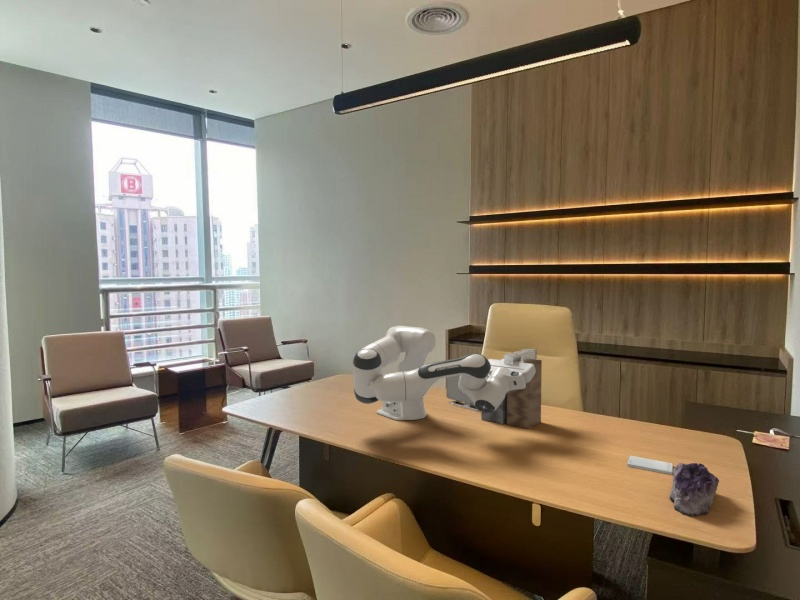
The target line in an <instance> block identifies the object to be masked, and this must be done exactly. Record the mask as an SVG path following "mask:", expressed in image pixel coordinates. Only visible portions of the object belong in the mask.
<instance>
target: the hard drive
mask: <svg viewBox="0 0 800 600" xmlns="http://www.w3.org/2000/svg"><path fill="white" fill-rule="evenodd" d="M626 467H627V468H628V467H629V468H631V469H632V468H633V469H637V470H643V471H648V472H655V473H659V474H664V475H671V476H673V473H672V471H673V469H674V463H671V462H667V461H661V460H656V459H651V458H645V457H639V456H634V455H629V458H628V461H627V464H626Z"/></svg>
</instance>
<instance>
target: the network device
mask: <svg viewBox="0 0 800 600" xmlns="http://www.w3.org/2000/svg"><path fill="white" fill-rule="evenodd" d="M459 378H460V375H457V376H451V377H446V387H445V388H446V389H445V391H446V398H447V399H448V400H449V399H450V400H452V401H451V402H450V405H451V404H453V405H452V406H455V405H456V406H455V407H458V406H460V407H459V408H462V407H464V408H463V409H466V408H467V409H466V410H470V409H471V411H473V412H474V411H475V412H480V411H479V410H478V409H477V408H474V407H475V405H474V403H473V401H472V400H471V399H470V398H469V397H467V396H465V395H463V394H462V393H461V392H460V390H459V388H458V382H459ZM487 378H488V377H487ZM459 401H460V402H459ZM456 402H458V403H464V404H458V403H456Z"/></svg>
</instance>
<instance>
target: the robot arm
mask: <svg viewBox="0 0 800 600" xmlns="http://www.w3.org/2000/svg"><path fill="white" fill-rule="evenodd" d="M436 341H437V339H436V334H434V332H433V331H431V330H429V329H426V328H425V327H419V326H418V327H417V326H408V325H396V326H391V327H390V328H389V329H387V331H386V334H385V335H384V337H382V338H380V339H378V340H376V341H373V342H372V343H368V344H367V345H365V346H364V347H363V348H360V349H359V350H358V351H357V352H356V353H355V354H354V355H353V356H352V360H351V361H352V366H353V367H352V379H353V388H354V389H353V393H354V396H355V400H357V401H358V402H360V403H363V404H366V405H369V404H370V405H371V404H374V403H377V402H378V401H380V402H382V406H381V408H379V409H377V410H376V414H378V415H380V416H383V417H386V418H388V419H389V418H390V419H392V420H395V421H415V420H422V419H424V418H426V417H427V416H428V415H427V412H426V408H425V400H424V397H425V396H426V395H427V394H428V392H429V391H430V390H431V388H433V387H432V386H433V385H434V384H435V383H437V382H438V381H439V380H442V379H445V378H446V379H447V377H451V376H457V375H460V378H459V382H458V388H459V390H460V392H461V393H462V394H463V395H465V396H467V397H469V398H470V399H471V400H472V401H473V403H474V405H475V406H474V407H475V409H478V410H479V411H478V412H480V413H481V412H483V413H491V412H493V411H495V410H496V409H497V408H498V407H499V406H500V404H501V403H502V401H503V400H504V398H505V395H506V393H508V392H509V391H511V390H517V389H524V388H525V387H526V383H528V382H530V381H531V379H532V378H533V376H534V375H535V373H536V370H535V366H534V364H530V363H523V362H524V357H521V356H520V357H519V362H514V364H513V365H512V364H504V357H503V358H501V359H495V358H487V357H486V356H484V355H483V354H481V353H476V352H473V353H472V352H471V353H468V354H465V355H463V356H461V357H456V358H451V359H446V360H441V361H434V362H430V363H425V362H426V359H427V356H428V355H429V354H430V353H431V352H433V350H434V348H435V347H436ZM403 353H404V358H403V360H402V361H401V362H399V363H398V365H397V367H396V369H397V371H396V372H389V373H383V371H382V370H383V368H385V367H387V366H390V365H391V364H393V363H395V362H397V361H398V360H399V357H400V355H401V354H403ZM487 377H488V378H487Z"/></svg>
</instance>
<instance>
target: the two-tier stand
mask: <svg viewBox="0 0 800 600" xmlns="http://www.w3.org/2000/svg"><path fill="white" fill-rule="evenodd" d="M525 363H530V364H534V366H535V370H536V373H535V375H534V376H533V378H532V379H531V381H530V382H528V383H526V387H525V388H524V389H517V390H511V391H509V392H508V393H506V395H505V398H504V400H503V401H502V403H501V404H500V406H499V407H498V408H497V409H496V410H495V411H493V412H491V413H483V412H481V411H480V413H481V414H480V415H481V417H480V418H481V420H483V421H486V422H491V423H496V424H499V425H500V424H501V425H504V424H507V425H511V426H516V427H521V428H525V429H531V428H533V427H535V426H537V425H539V424H540V423H541V422H542V371H543V370H542V368H543V367H542V365H543V364H542V359H534V360H531V361H528V362H525ZM538 423H539V424H538Z"/></svg>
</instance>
